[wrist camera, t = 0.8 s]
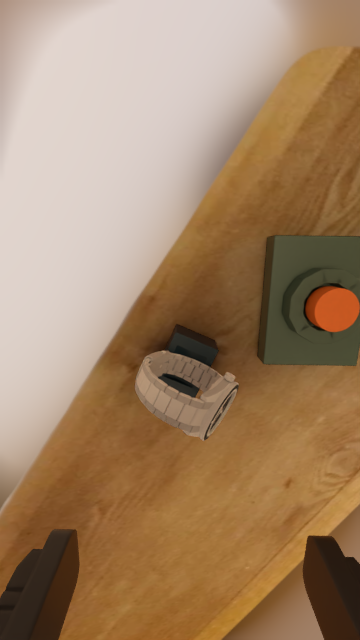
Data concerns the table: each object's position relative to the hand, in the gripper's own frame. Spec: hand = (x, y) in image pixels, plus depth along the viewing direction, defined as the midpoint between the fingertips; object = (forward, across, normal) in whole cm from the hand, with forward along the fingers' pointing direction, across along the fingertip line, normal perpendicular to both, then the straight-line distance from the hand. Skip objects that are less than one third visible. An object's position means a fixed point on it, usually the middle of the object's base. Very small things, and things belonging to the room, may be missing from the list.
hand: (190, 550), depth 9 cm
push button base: (+19, -12, -6) cm, 24 cm away
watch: (+20, 0, 0) cm, 20 cm away
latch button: (+16, -12, -6) cm, 21 cm away
